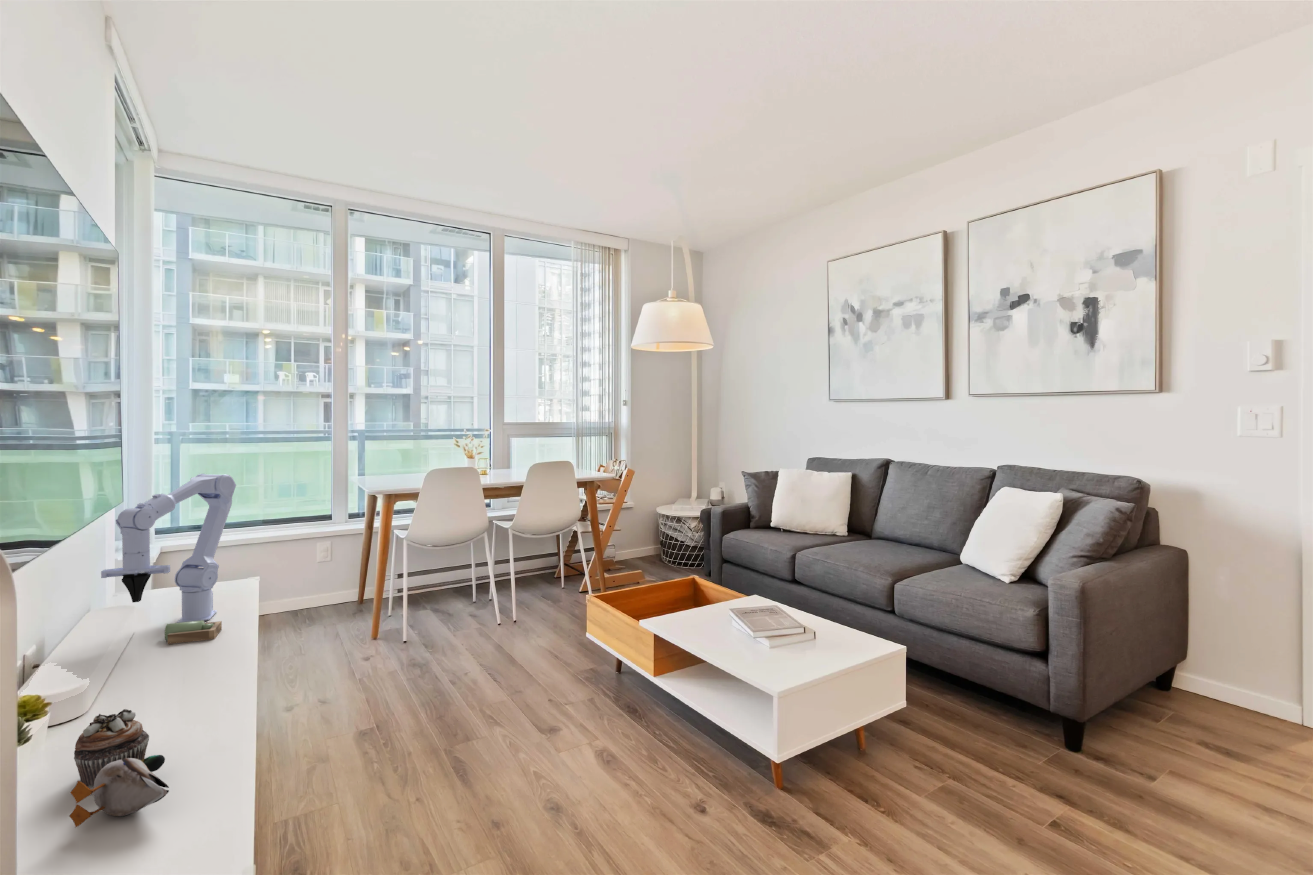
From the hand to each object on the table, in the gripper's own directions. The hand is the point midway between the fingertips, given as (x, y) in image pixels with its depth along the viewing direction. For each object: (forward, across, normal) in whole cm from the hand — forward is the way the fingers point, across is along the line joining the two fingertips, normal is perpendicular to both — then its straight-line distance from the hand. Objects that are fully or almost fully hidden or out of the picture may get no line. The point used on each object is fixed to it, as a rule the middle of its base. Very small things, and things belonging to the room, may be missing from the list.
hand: (136, 601), depth 168 cm
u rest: (+10, +14, -4) cm, 18 cm away
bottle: (+8, +8, -4) cm, 12 cm away
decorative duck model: (+11, +28, -91) cm, 96 cm away
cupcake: (+11, +20, -79) cm, 82 cm away
